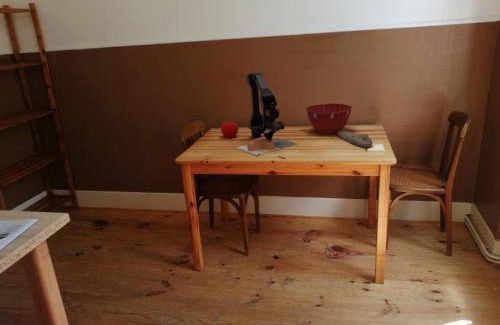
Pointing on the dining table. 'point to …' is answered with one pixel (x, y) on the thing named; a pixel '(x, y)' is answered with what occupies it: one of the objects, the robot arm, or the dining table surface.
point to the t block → (260, 144)
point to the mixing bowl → (328, 117)
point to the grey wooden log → (355, 138)
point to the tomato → (229, 129)
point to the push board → (277, 145)
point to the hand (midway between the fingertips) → (269, 143)
